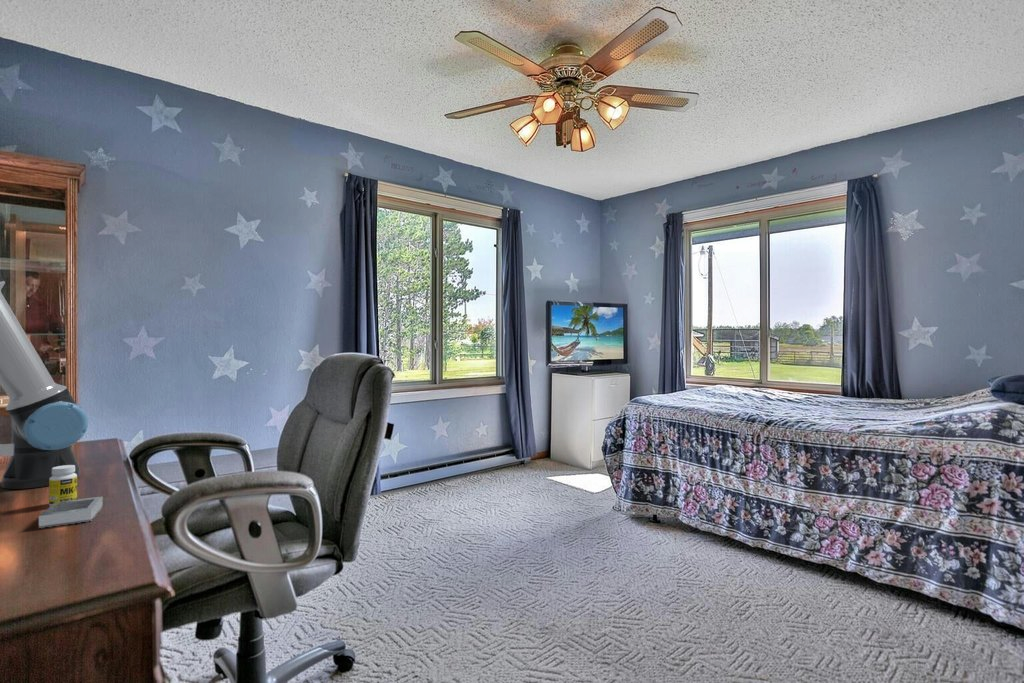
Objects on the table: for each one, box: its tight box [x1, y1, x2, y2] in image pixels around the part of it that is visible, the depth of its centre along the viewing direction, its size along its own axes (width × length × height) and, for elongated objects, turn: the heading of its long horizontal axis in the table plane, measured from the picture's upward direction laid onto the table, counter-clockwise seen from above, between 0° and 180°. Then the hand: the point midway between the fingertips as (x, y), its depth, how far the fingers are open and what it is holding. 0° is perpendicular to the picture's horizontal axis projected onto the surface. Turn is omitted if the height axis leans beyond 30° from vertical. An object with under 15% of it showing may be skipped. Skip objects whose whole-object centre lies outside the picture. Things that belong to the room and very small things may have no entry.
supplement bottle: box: [48, 465, 78, 507], centre depth 114 cm, size 5×5×8 cm
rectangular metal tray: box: [38, 496, 104, 529], centre depth 105 cm, size 10×8×2 cm
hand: (1, 455), depth 109 cm, fingers open, 13 cm apart
